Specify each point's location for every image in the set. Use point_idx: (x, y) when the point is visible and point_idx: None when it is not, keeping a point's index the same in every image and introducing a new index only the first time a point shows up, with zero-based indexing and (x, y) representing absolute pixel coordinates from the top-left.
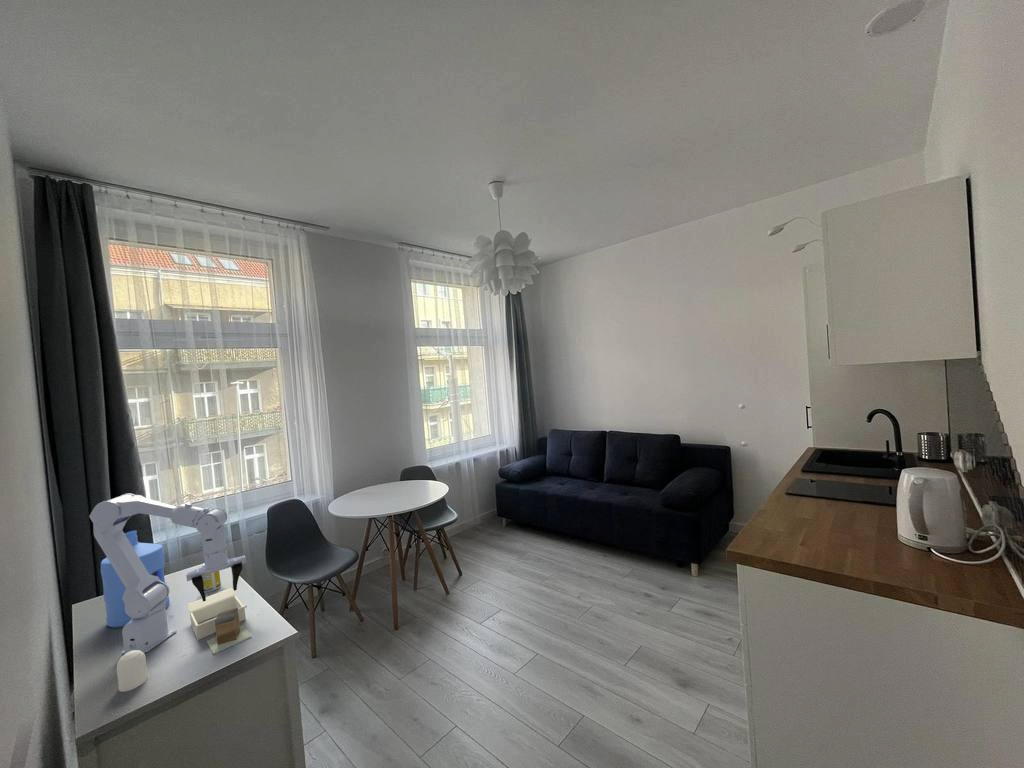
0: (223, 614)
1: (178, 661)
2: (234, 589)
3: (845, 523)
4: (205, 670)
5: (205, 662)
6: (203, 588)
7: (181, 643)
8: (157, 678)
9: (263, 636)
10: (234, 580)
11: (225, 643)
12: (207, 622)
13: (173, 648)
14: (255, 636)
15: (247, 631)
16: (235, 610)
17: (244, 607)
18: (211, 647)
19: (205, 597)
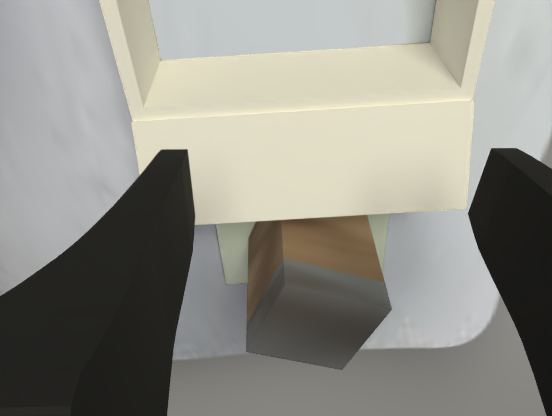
0: (300, 323)
1: (84, 219)
2: (476, 226)
3: None
4: (198, 342)
5: (198, 302)
6: (166, 380)
7: (50, 23)
8: (27, 277)
9: (415, 295)
10: (524, 335)
11: None
12: (207, 222)
13: (12, 51)
14: (394, 274)
15: (385, 228)
16: (368, 331)
17: (446, 208)
18: (222, 236)
19: (191, 255)
